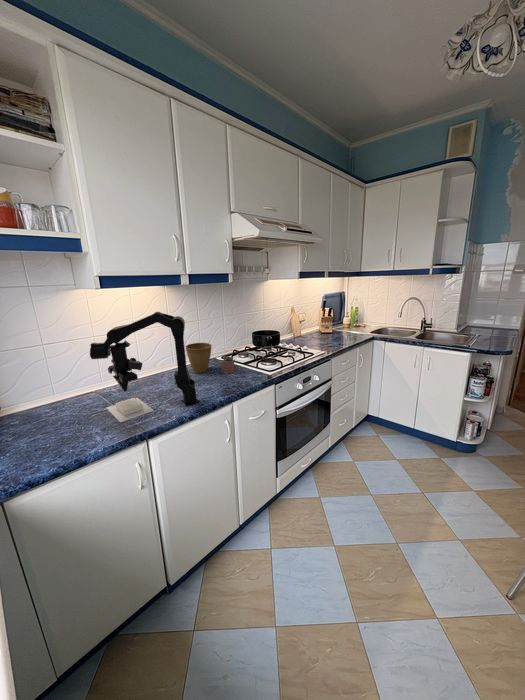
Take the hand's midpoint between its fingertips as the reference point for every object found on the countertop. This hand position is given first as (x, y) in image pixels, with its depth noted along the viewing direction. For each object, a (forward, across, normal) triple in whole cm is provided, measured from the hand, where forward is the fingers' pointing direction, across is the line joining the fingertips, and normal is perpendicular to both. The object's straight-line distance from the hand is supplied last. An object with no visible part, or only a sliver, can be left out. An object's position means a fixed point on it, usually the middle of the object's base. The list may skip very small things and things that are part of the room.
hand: (125, 391), depth 127 cm
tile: (+7, +2, 0) cm, 7 cm away
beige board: (+8, -2, 0) cm, 9 cm away
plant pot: (+9, +18, -49) cm, 53 cm away
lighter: (+9, +4, -59) cm, 60 cm away
